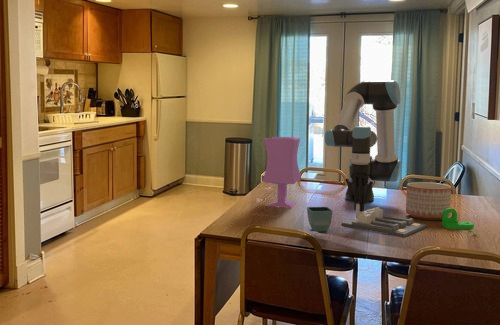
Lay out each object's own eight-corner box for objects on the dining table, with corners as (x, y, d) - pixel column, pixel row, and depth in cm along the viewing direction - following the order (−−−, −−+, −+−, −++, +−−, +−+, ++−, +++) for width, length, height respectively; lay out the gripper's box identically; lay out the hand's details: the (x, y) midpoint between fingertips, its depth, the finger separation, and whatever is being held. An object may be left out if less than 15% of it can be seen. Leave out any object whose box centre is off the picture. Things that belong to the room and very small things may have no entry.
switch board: (341, 225, 203) (341, 217, 202) (366, 217, 219) (366, 210, 219) (404, 237, 184) (404, 229, 184) (426, 227, 200) (426, 219, 200)
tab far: (370, 218, 211) (370, 207, 211) (374, 216, 214) (374, 206, 214) (378, 219, 208) (378, 208, 208) (382, 218, 211) (383, 207, 211)
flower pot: (306, 228, 198) (306, 206, 197) (327, 227, 198) (327, 206, 198) (310, 233, 189) (311, 211, 188) (332, 233, 190) (332, 210, 189)
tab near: (357, 224, 200) (358, 212, 199) (362, 222, 203) (363, 211, 202) (366, 225, 197) (366, 214, 196) (371, 224, 200) (371, 212, 199)
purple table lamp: (271, 202, 253) (272, 136, 249) (300, 204, 248) (301, 137, 244) (262, 207, 238) (263, 138, 235) (293, 210, 233) (294, 139, 229)
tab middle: (362, 220, 206) (362, 209, 205) (366, 219, 209) (367, 208, 208) (370, 222, 203) (371, 211, 203) (375, 220, 206) (375, 209, 206)
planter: (429, 223, 208) (430, 189, 207) (396, 214, 225) (398, 183, 224) (458, 218, 217) (460, 186, 216) (425, 210, 234) (427, 181, 233)
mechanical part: (447, 229, 198) (448, 210, 197) (441, 225, 204) (442, 207, 203) (476, 229, 198) (477, 210, 197) (469, 226, 204) (470, 207, 203)
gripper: (342, 162, 200) (340, 217, 203) (370, 165, 192) (368, 222, 194) (351, 161, 206) (349, 215, 208) (379, 163, 197) (377, 219, 200)
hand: (358, 218), depth 201 cm, fingers closed
